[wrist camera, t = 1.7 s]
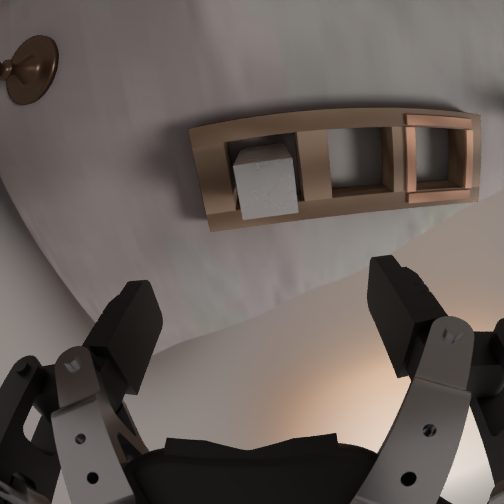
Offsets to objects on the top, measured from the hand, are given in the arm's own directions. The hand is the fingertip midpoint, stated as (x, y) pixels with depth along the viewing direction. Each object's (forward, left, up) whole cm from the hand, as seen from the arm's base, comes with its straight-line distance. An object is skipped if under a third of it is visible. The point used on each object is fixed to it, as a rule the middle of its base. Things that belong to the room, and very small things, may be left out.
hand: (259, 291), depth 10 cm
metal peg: (-1, +1, -20) cm, 20 cm away
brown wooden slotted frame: (0, +10, -20) cm, 22 cm away
